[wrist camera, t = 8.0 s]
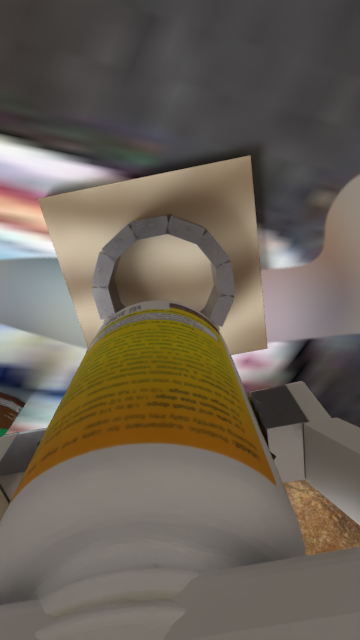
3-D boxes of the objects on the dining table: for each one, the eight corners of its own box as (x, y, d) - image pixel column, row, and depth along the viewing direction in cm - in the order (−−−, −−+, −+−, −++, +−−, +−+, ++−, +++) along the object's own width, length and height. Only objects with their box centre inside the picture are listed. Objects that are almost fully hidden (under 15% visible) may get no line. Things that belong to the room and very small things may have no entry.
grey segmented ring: (85, 229, 24) (74, 233, 21) (217, 203, 23) (224, 204, 20) (119, 347, 27) (114, 364, 25) (233, 326, 27) (241, 341, 24)
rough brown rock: (369, 360, 31) (527, 472, 17) (351, 489, 36) (462, 660, 22) (144, 370, 32) (113, 487, 17) (155, 496, 37) (138, 669, 22)
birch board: (43, 198, 24) (37, 198, 23) (246, 157, 23) (250, 155, 22) (100, 372, 30) (98, 378, 29) (263, 342, 29) (267, 348, 28)
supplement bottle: (65, 327, 12) (-329, 837, 2) (197, 272, 11) (357, 664, 2) (129, 430, 14) (48, 930, 4) (244, 388, 13) (436, 862, 4)
